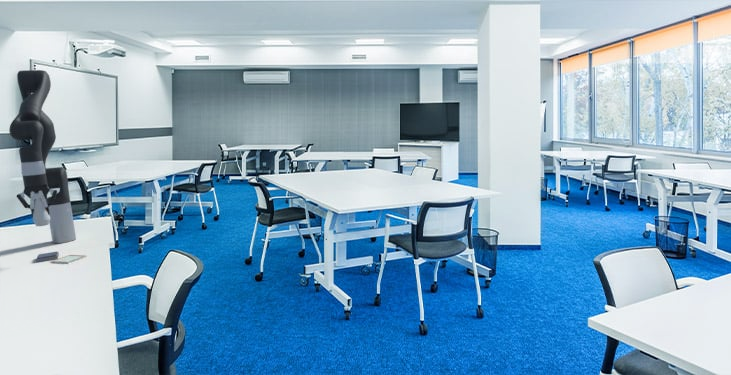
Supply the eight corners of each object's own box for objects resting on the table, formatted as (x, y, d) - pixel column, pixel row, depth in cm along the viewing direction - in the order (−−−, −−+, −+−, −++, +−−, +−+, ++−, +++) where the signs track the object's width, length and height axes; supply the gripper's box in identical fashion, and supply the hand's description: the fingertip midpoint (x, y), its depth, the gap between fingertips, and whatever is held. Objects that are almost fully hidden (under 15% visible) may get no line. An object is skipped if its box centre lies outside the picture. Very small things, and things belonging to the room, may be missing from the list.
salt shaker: (54, 223, 195) (49, 190, 193) (44, 226, 189) (38, 193, 187) (41, 223, 195) (35, 191, 193) (30, 227, 190) (24, 193, 187)
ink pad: (38, 258, 196) (37, 254, 195) (58, 254, 199) (58, 250, 198) (36, 262, 189) (35, 258, 189) (57, 258, 193) (57, 254, 192)
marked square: (50, 262, 188) (50, 261, 188) (69, 256, 196) (69, 254, 196) (68, 263, 185) (67, 262, 185) (86, 256, 193) (86, 255, 193)
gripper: (56, 170, 195) (62, 213, 198) (13, 174, 189) (20, 218, 192) (54, 172, 189) (61, 216, 192) (10, 176, 182) (18, 221, 185)
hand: (41, 217), depth 192 cm, fingers closed on salt shaker, 3 cm apart
